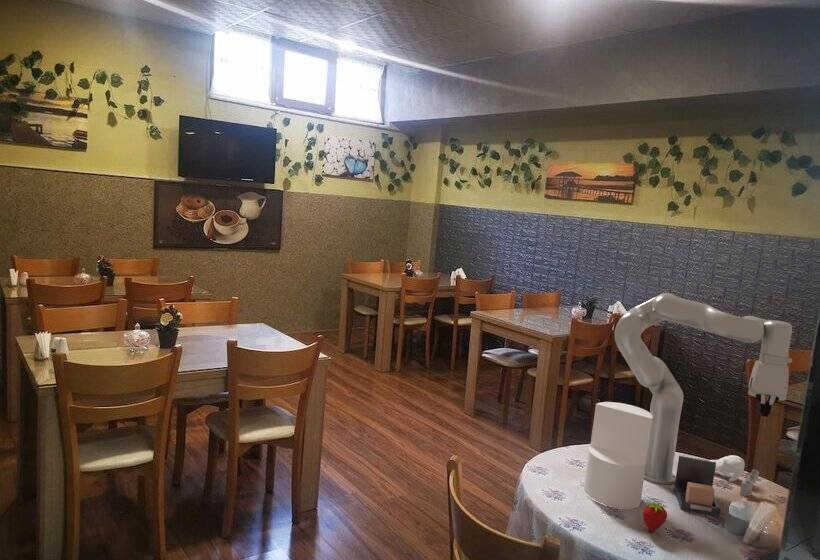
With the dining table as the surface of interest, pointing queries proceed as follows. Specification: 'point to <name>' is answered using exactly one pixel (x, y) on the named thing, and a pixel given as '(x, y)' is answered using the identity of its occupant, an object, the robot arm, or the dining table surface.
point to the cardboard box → (699, 494)
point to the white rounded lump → (730, 466)
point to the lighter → (749, 483)
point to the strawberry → (654, 516)
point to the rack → (699, 474)
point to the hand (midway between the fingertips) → (763, 415)
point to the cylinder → (618, 454)
